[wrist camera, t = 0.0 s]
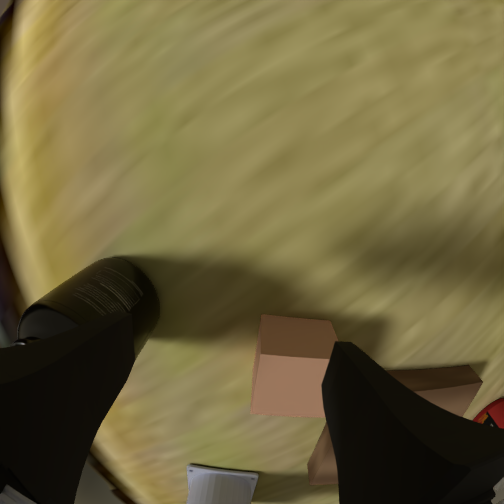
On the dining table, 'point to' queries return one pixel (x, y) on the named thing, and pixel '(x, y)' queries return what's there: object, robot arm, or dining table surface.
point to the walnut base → (422, 383)
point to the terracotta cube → (291, 366)
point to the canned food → (493, 423)
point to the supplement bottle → (94, 302)
